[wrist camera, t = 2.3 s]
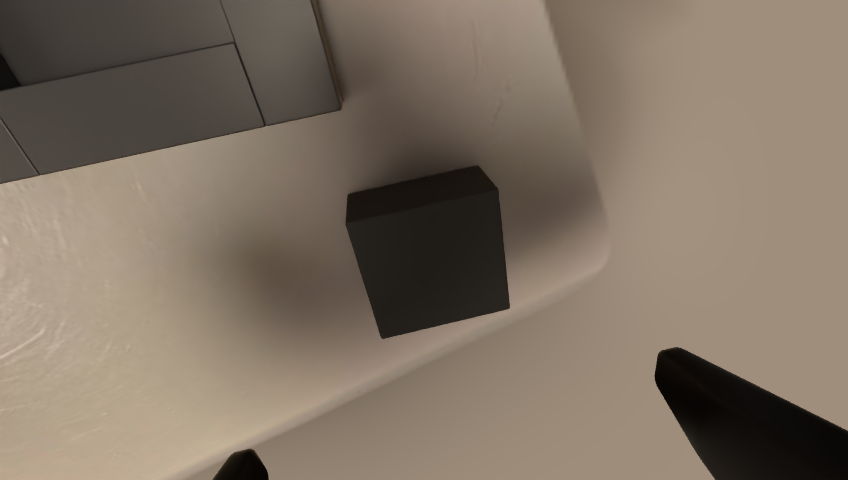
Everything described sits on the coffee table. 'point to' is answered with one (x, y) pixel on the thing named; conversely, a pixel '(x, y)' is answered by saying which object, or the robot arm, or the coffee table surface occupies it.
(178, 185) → the coffee table surface
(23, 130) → the base pad
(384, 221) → the black angular block
